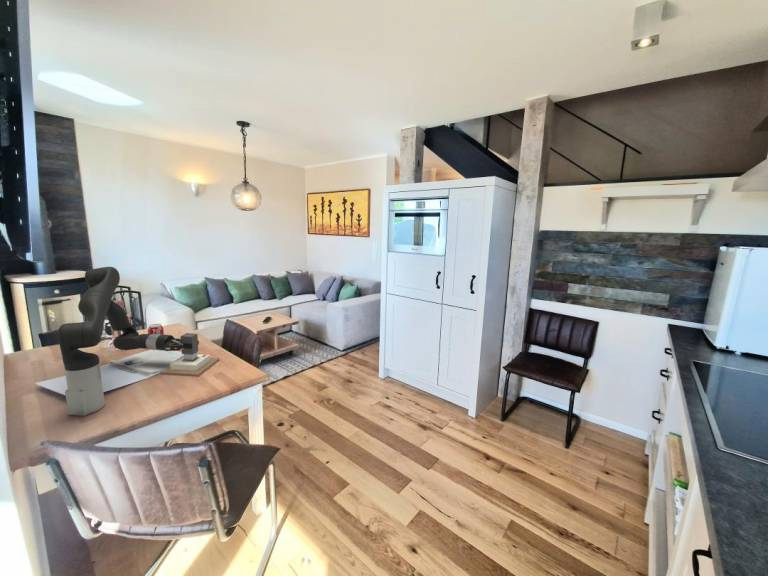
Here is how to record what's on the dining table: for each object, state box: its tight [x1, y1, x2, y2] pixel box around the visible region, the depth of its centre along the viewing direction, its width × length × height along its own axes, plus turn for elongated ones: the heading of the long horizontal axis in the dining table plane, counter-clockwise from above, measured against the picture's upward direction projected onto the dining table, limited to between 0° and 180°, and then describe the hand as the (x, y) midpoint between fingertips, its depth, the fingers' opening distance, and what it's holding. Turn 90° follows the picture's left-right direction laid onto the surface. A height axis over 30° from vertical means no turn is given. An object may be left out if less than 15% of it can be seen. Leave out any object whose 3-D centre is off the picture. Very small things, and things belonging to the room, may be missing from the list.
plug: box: [180, 332, 199, 360], centre depth 154 cm, size 4×5×12 cm
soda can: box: [147, 323, 165, 335], centre depth 177 cm, size 7×7×12 cm
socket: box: [159, 353, 220, 377], centre depth 155 cm, size 18×18×4 cm
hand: (195, 344), depth 154 cm, fingers closed on plug, 4 cm apart
